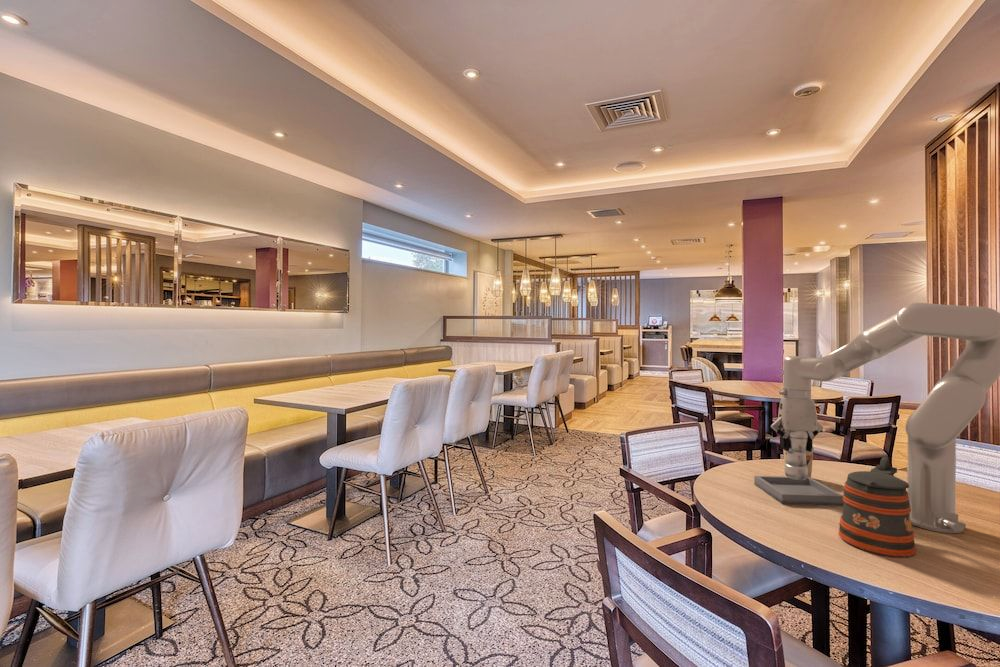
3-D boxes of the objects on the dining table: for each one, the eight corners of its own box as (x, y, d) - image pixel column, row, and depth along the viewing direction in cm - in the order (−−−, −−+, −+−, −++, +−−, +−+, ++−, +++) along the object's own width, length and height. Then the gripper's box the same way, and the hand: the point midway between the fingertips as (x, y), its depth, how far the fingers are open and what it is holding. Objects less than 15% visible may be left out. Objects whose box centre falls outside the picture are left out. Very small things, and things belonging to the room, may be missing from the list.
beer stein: (847, 520, 125) (847, 449, 125) (919, 538, 114) (919, 459, 114) (833, 542, 112) (833, 462, 112) (912, 564, 101) (913, 476, 101)
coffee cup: (783, 479, 160) (783, 445, 160) (781, 472, 168) (781, 440, 168) (815, 483, 156) (815, 449, 156) (811, 476, 164) (811, 443, 164)
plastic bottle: (788, 481, 143) (788, 418, 143) (781, 475, 149) (781, 415, 149) (811, 483, 141) (811, 420, 141) (803, 477, 147) (804, 416, 147)
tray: (845, 506, 135) (845, 496, 135) (782, 504, 137) (782, 494, 137) (809, 486, 153) (809, 477, 153) (754, 484, 155) (754, 475, 155)
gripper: (774, 395, 142) (774, 452, 142) (832, 396, 140) (832, 454, 141) (763, 392, 150) (762, 446, 150) (818, 393, 148) (817, 448, 148)
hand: (796, 449), depth 145 cm, fingers closed on plastic bottle, 6 cm apart
